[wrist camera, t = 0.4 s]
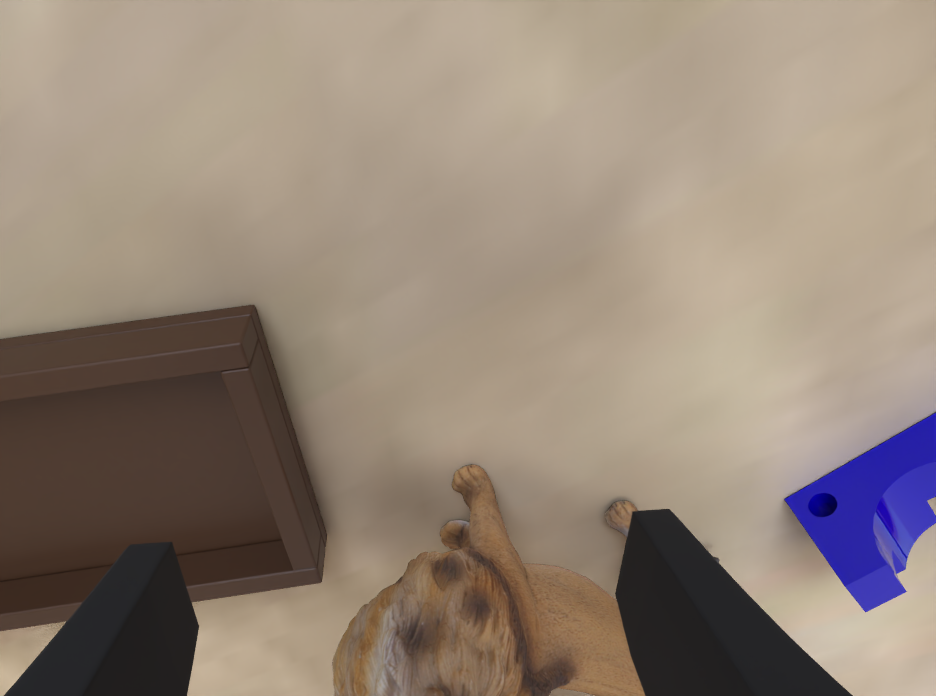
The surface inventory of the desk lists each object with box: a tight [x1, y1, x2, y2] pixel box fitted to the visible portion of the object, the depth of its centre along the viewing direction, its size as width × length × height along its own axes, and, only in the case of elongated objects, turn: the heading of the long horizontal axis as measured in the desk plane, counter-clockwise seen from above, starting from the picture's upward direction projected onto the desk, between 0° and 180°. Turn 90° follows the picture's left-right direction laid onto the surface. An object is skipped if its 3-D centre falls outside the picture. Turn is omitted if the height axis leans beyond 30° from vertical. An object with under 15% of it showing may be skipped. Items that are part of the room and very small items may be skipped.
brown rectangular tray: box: [0, 305, 327, 631], centre depth 20 cm, size 10×18×2 cm, turn 96°
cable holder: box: [784, 413, 936, 612], centre depth 23 cm, size 8×4×4 cm, turn 129°
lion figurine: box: [332, 465, 719, 696], centre depth 21 cm, size 15×5×9 cm, turn 74°
